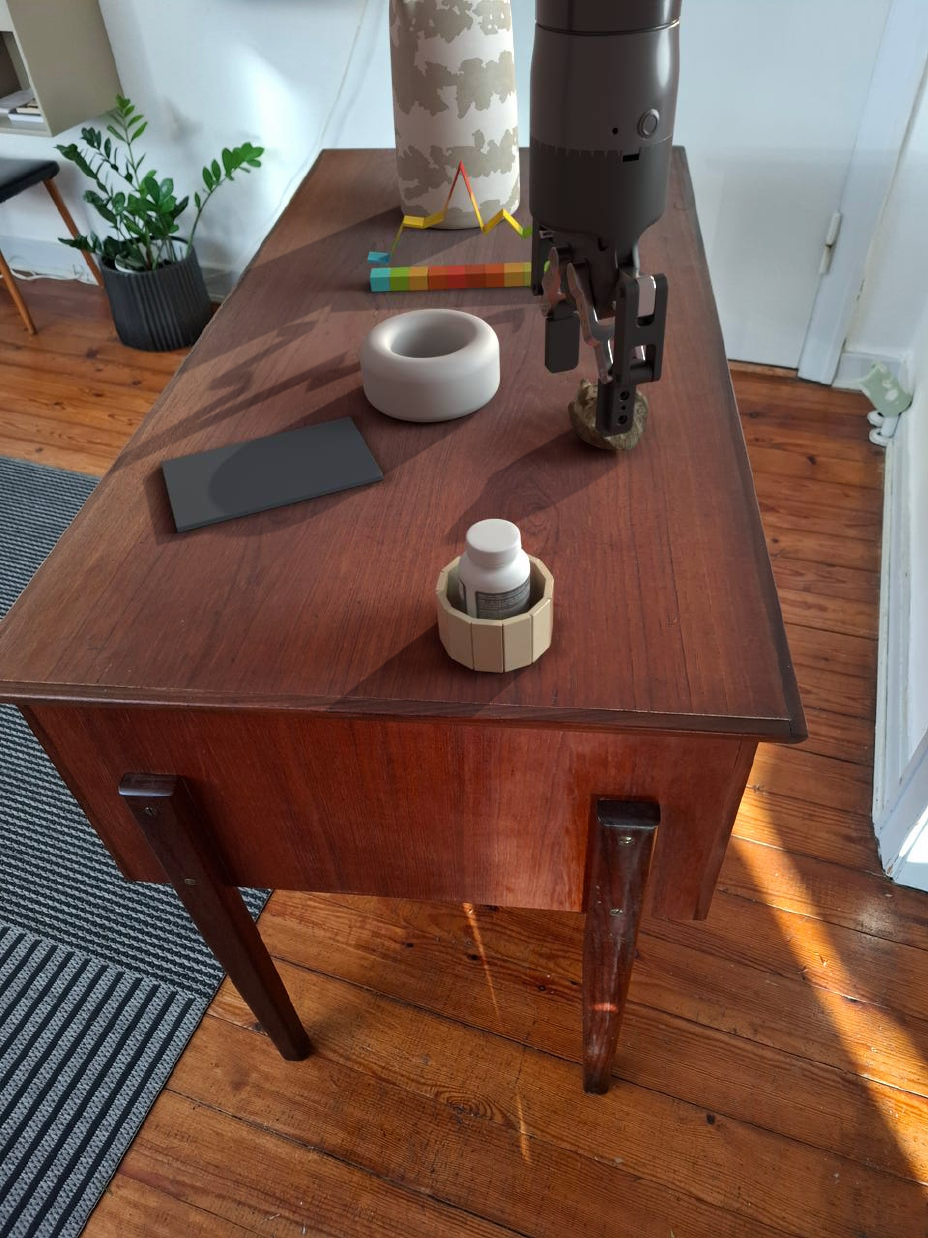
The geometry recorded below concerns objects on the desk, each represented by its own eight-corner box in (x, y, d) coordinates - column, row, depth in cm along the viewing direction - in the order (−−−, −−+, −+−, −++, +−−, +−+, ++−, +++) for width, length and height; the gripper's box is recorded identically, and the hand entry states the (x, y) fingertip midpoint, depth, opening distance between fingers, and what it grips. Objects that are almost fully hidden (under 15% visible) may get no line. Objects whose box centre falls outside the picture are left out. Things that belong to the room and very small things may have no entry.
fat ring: (438, 345, 107) (434, 291, 102) (528, 388, 98) (528, 331, 94) (338, 393, 100) (328, 337, 95) (425, 443, 91) (419, 384, 87)
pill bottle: (543, 625, 71) (544, 528, 64) (504, 665, 68) (501, 568, 61) (488, 599, 74) (484, 503, 67) (449, 637, 71) (440, 541, 64)
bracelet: (464, 685, 67) (460, 638, 63) (426, 612, 73) (420, 565, 70) (570, 651, 69) (572, 604, 65) (524, 582, 75) (524, 536, 72)
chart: (599, 272, 119) (605, 151, 109) (601, 282, 117) (608, 159, 107) (374, 281, 121) (359, 163, 111) (371, 291, 119) (356, 171, 108)
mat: (178, 533, 83) (176, 527, 82) (162, 466, 91) (160, 461, 90) (383, 479, 87) (383, 474, 87) (350, 420, 95) (350, 415, 95)
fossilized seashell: (571, 381, 94) (547, 446, 88) (604, 339, 88) (582, 405, 83) (630, 418, 95) (611, 483, 90) (667, 378, 90) (648, 445, 84)
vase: (454, 180, 149) (438, -115, 123) (544, 201, 140) (546, -113, 113) (369, 218, 138) (330, -96, 112) (459, 243, 129) (440, -92, 103)
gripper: (489, 98, 51) (495, 361, 62) (588, 172, 41) (574, 469, 52) (611, 82, 52) (595, 342, 63) (735, 149, 42) (691, 444, 53)
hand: (586, 399), depth 58 cm, fingers open, 8 cm apart
